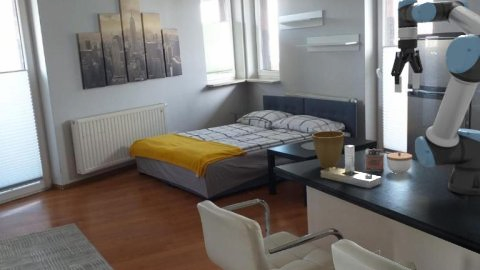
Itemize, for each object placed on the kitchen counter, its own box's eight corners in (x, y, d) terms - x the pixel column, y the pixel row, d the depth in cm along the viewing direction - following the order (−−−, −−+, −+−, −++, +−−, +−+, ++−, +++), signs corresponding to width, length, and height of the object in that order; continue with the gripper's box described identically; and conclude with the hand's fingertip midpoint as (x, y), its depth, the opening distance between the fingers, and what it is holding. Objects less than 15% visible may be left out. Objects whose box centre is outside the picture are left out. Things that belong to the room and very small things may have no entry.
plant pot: (323, 161, 240) (322, 129, 237) (350, 165, 230) (350, 132, 227) (306, 168, 229) (305, 135, 226) (334, 172, 219) (333, 138, 216)
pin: (356, 180, 206) (356, 145, 203) (350, 182, 204) (350, 147, 201) (349, 178, 209) (348, 144, 206) (343, 180, 207) (342, 146, 204)
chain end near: (381, 183, 199) (381, 174, 198) (369, 188, 194) (369, 178, 193) (350, 177, 211) (350, 168, 210) (338, 181, 206) (338, 172, 205)
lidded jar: (415, 175, 208) (415, 153, 207) (390, 176, 209) (390, 155, 207) (407, 168, 219) (407, 148, 217) (383, 169, 219) (383, 149, 217)
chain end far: (361, 179, 207) (361, 170, 206) (349, 183, 202) (349, 174, 201) (332, 173, 219) (332, 164, 218) (320, 176, 214) (320, 168, 213)
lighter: (364, 170, 219) (364, 149, 217) (366, 168, 222) (366, 147, 220) (383, 172, 216) (382, 150, 214) (384, 170, 219) (384, 148, 217)
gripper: (415, 37, 208) (415, 87, 212) (381, 40, 193) (382, 93, 197) (432, 37, 202) (431, 87, 206) (398, 39, 187) (398, 94, 191)
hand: (407, 90), depth 202 cm, fingers open, 13 cm apart
